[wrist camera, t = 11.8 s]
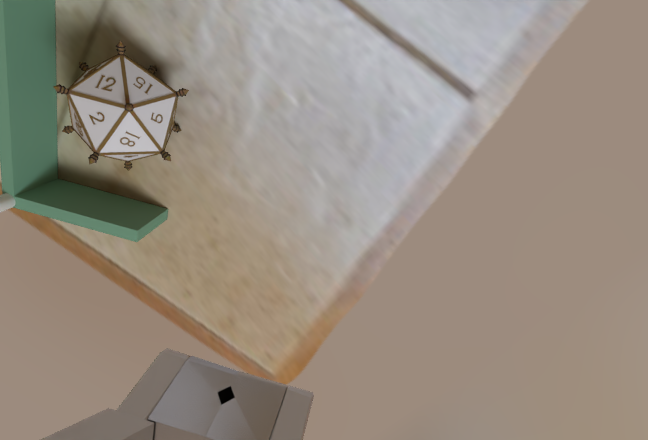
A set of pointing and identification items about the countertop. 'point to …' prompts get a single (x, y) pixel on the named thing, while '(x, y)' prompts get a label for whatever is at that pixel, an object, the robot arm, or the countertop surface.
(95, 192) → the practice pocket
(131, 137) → the game die
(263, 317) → the countertop surface
